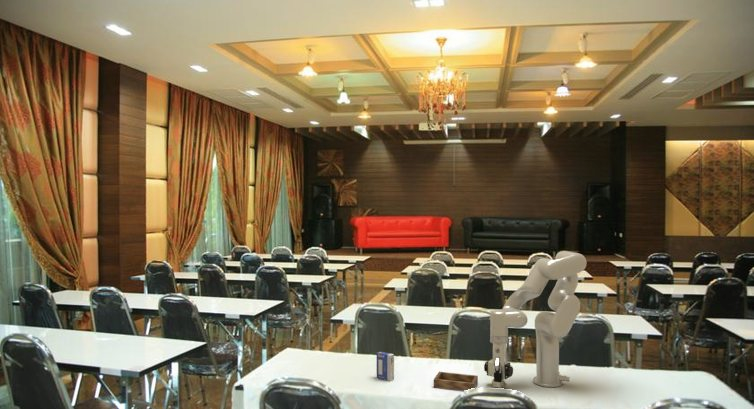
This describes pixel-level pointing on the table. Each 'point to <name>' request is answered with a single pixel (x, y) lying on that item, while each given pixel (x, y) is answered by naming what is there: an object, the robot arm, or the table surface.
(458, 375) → the wooden tray
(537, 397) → the table surface
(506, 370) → the pneumatic valve
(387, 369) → the walkman
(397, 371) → the table surface
